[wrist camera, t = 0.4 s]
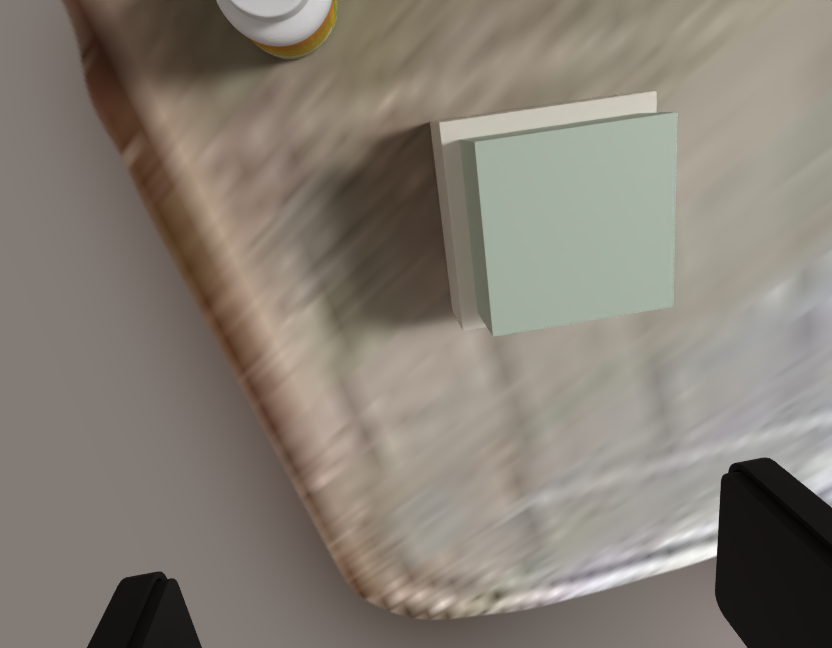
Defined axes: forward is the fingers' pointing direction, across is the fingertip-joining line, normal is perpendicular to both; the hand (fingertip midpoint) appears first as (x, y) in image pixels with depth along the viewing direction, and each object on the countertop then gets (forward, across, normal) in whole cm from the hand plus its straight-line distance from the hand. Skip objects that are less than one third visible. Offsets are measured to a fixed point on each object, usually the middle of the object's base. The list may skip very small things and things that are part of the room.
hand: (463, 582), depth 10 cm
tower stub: (+28, -10, -1) cm, 30 cm away
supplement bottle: (+29, +3, -14) cm, 32 cm away
